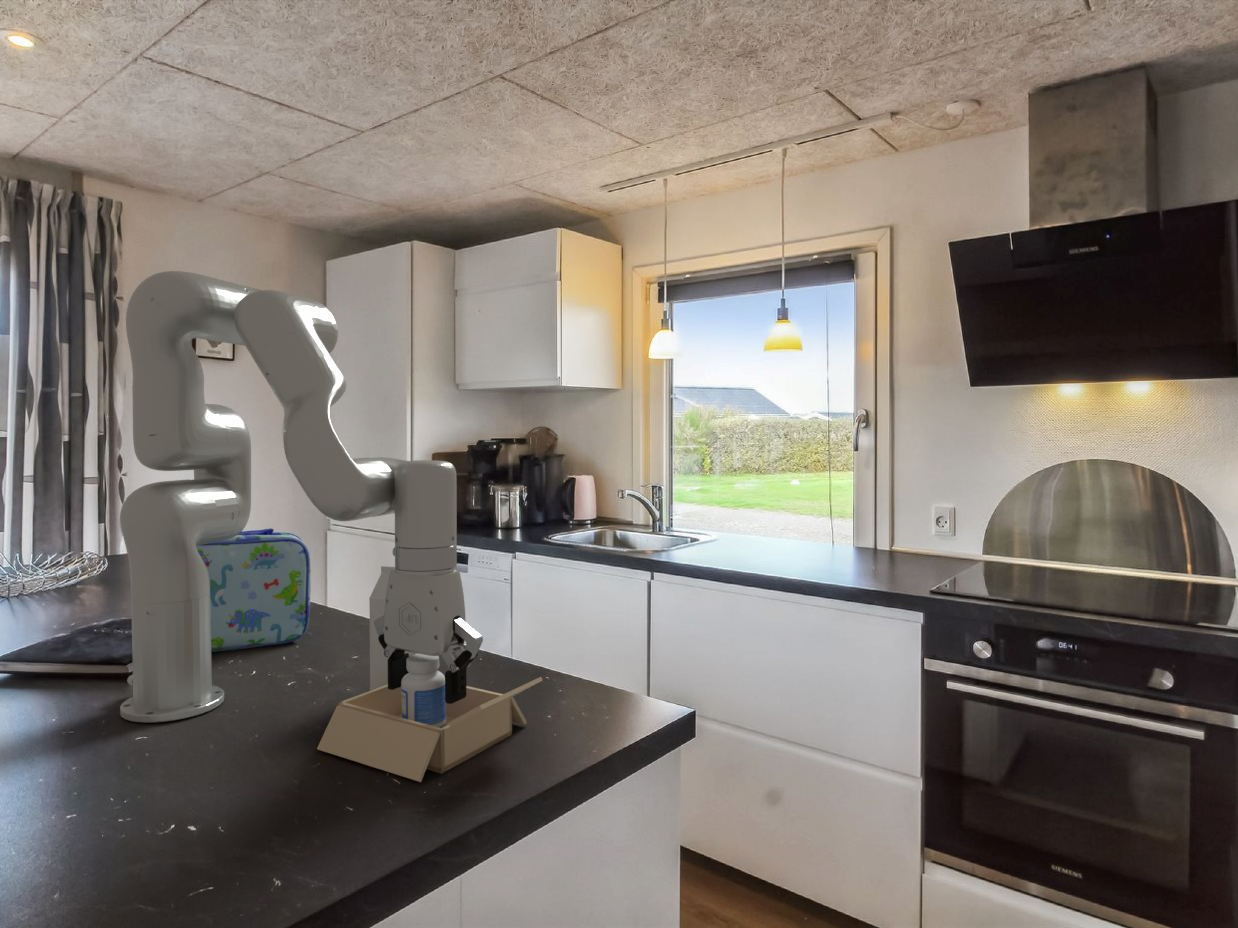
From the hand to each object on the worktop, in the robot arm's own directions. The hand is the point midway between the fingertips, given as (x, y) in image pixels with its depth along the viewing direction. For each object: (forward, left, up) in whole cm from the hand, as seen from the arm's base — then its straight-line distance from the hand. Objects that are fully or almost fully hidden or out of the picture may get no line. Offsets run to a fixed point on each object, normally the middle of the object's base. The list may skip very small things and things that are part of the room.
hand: (426, 693), depth 97 cm
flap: (+9, 0, 0) cm, 9 cm away
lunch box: (-59, +13, -6) cm, 61 cm away
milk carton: (-14, +10, -6) cm, 18 cm away
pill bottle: (0, 0, -5) cm, 5 cm away
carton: (-2, 0, -6) cm, 6 cm away
